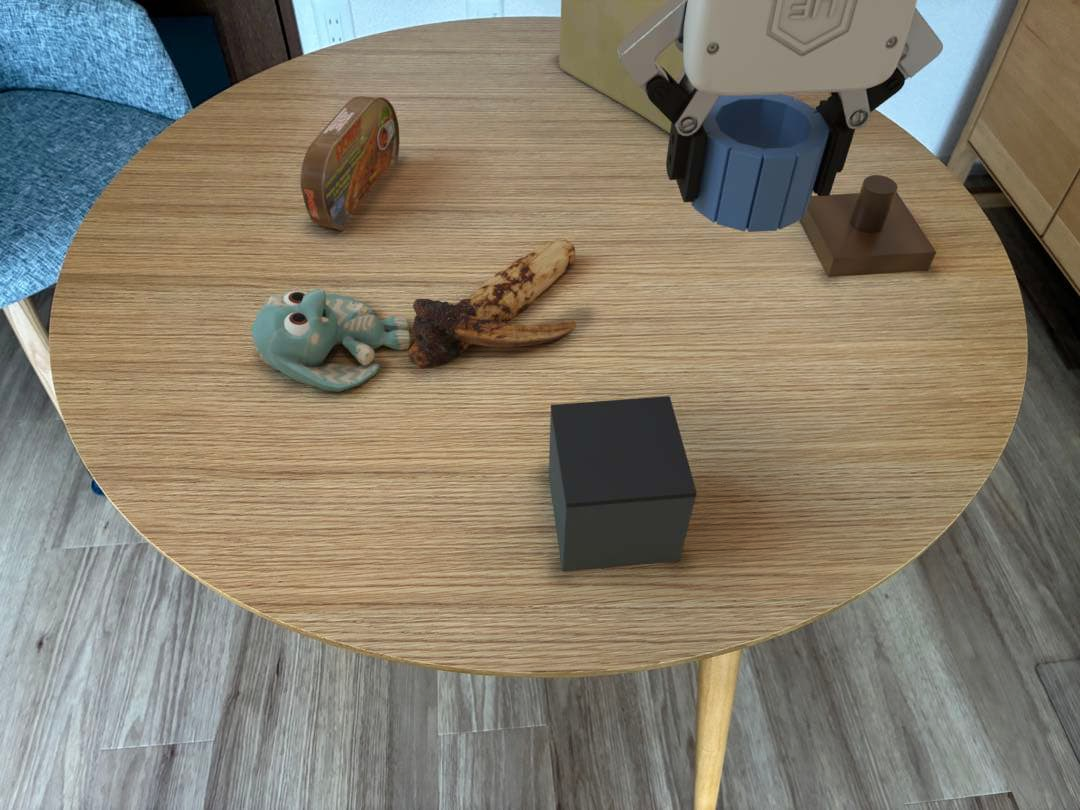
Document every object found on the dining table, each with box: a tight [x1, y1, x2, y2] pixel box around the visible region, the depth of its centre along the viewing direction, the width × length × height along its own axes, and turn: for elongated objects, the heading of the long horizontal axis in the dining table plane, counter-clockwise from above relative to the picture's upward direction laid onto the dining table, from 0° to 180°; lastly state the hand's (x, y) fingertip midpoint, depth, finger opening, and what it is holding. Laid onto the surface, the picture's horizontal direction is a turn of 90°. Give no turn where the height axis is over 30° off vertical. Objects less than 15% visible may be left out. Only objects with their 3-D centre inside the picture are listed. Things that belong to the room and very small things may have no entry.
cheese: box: [558, 0, 684, 134], centre depth 89 cm, size 22×10×15 cm, turn 48°
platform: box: [798, 174, 937, 278], centre depth 75 cm, size 9×9×7 cm
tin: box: [300, 95, 400, 232], centre depth 79 cm, size 15×3×8 cm, turn 162°
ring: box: [690, 94, 830, 233], centre depth 46 cm, size 7×7×4 cm
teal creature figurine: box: [250, 288, 413, 393], centre depth 66 cm, size 11×7×12 cm
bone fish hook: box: [408, 239, 577, 370], centre depth 69 cm, size 9×5×18 cm
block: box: [548, 395, 698, 572], centre depth 55 cm, size 8×8×8 cm
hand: (750, 182), depth 47 cm, fingers closed on ring, 6 cm apart
